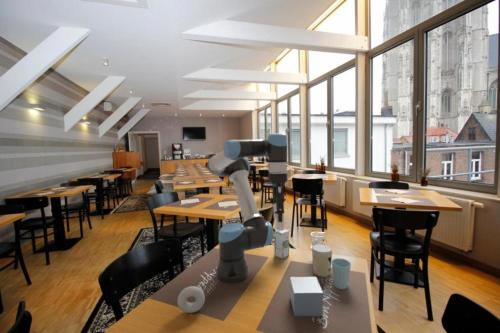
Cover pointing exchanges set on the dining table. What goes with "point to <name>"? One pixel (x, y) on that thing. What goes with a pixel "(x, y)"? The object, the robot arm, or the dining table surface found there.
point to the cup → (341, 272)
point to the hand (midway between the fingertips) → (278, 223)
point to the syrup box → (282, 243)
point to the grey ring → (188, 292)
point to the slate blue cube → (306, 296)
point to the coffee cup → (321, 259)
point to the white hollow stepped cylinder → (317, 238)
